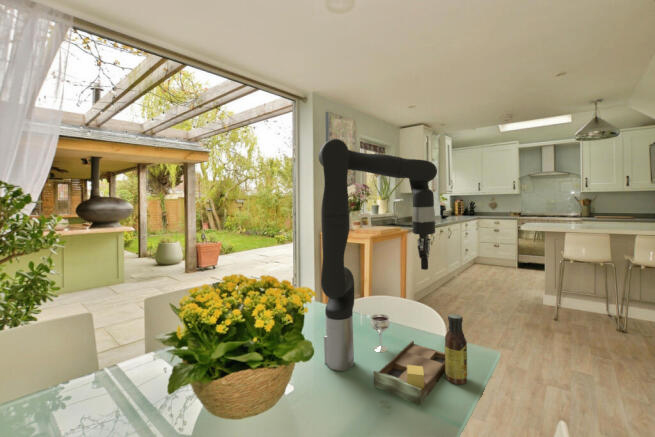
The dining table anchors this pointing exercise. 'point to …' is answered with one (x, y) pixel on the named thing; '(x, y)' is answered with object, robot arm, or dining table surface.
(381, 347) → the wineglass
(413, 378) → the mustard block
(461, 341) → the sauce bottle
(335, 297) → the robot arm
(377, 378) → the trap deck
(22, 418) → the dining table surface
